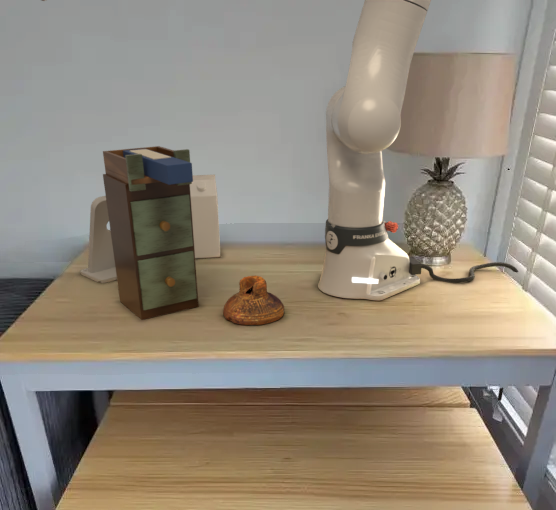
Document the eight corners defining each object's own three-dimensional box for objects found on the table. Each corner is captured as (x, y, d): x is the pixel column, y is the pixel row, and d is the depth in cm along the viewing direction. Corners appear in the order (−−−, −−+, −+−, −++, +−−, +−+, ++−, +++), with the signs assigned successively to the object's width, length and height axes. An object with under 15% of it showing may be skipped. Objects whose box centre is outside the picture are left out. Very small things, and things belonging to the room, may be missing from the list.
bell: (296, 317, 116) (296, 280, 113) (242, 331, 110) (240, 294, 107) (263, 298, 125) (263, 264, 121) (211, 311, 119) (209, 275, 116)
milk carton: (189, 250, 155) (183, 173, 146) (217, 249, 156) (213, 171, 147) (191, 259, 148) (185, 178, 140) (220, 257, 150) (216, 177, 141)
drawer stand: (174, 289, 130) (160, 141, 116) (202, 309, 120) (191, 149, 106) (120, 301, 124) (98, 146, 110) (145, 323, 114) (125, 156, 100)
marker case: (147, 165, 115) (145, 147, 113) (193, 181, 100) (191, 161, 99) (124, 167, 113) (122, 149, 111) (168, 184, 98) (166, 164, 97)
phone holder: (142, 256, 151) (133, 181, 142) (167, 265, 144) (159, 187, 136) (78, 273, 140) (65, 193, 131) (102, 284, 133) (89, 200, 125)
